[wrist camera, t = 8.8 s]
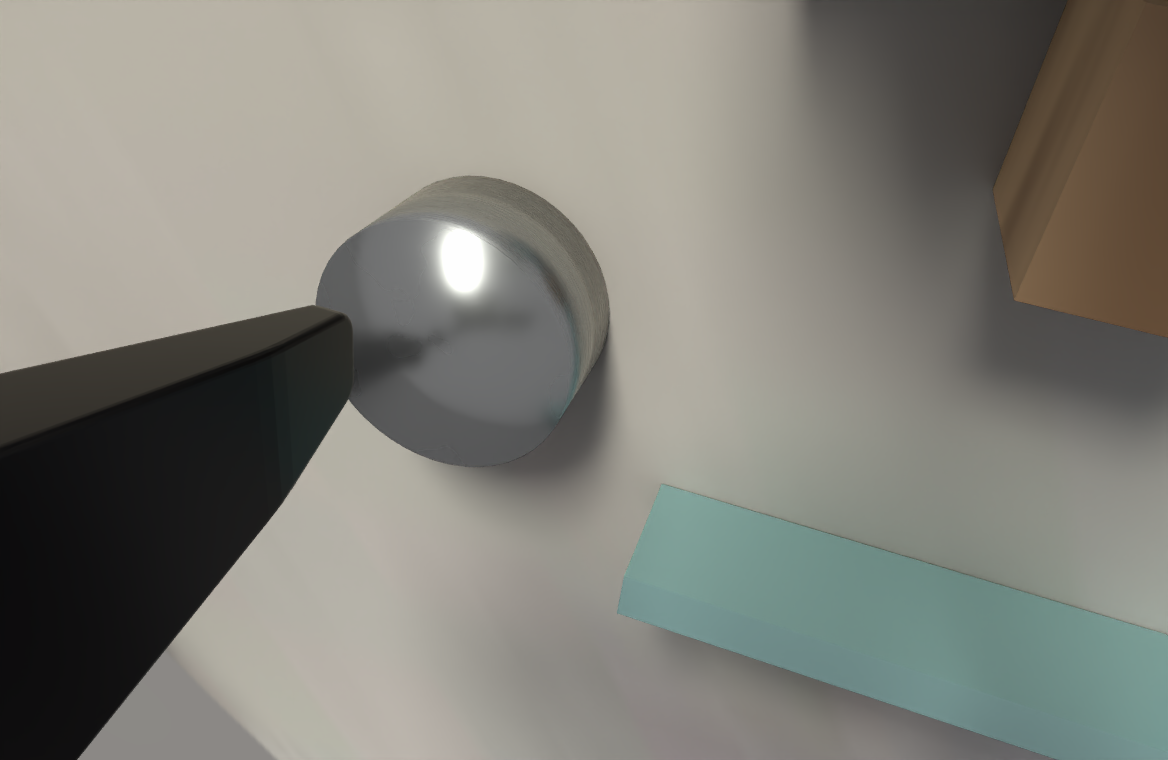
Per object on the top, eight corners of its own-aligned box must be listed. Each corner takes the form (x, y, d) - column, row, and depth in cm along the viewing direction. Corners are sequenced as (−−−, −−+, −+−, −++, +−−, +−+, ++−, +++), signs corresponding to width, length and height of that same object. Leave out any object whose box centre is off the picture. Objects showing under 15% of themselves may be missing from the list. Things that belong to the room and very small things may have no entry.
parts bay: (1247, 700, 20) (1299, 840, 17) (654, 519, 23) (616, 613, 20) (1916, -105, 11) (2248, -88, 8) (815, -239, 14) (787, -259, 11)
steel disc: (594, 427, 23) (554, 498, 20) (383, 365, 24) (321, 425, 21) (628, 207, 19) (585, 259, 17) (381, 149, 20) (308, 189, 18)
